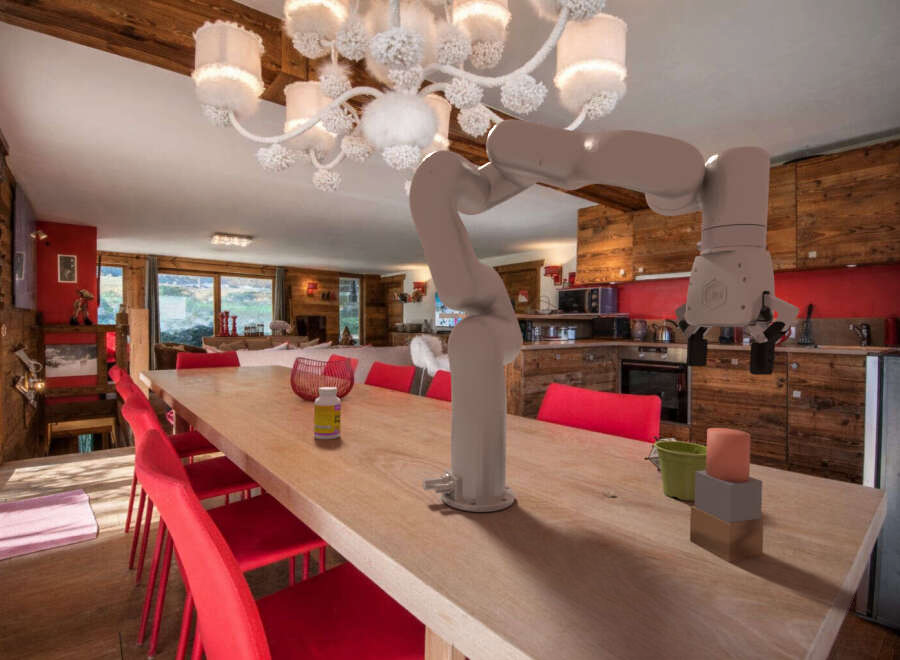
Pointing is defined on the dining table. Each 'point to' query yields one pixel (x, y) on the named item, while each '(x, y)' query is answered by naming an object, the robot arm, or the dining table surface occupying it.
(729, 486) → the tower top
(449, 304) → the robot arm
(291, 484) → the dining table surface
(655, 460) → the game die
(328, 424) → the supplement bottle
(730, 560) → the tower base
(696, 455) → the plant pot
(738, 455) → the cylinder
